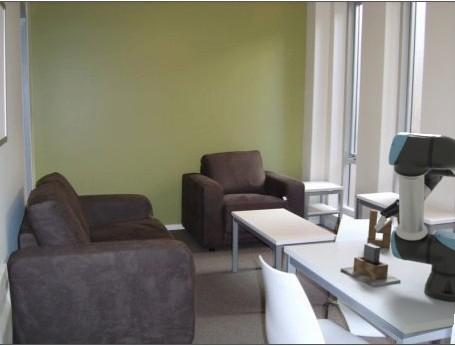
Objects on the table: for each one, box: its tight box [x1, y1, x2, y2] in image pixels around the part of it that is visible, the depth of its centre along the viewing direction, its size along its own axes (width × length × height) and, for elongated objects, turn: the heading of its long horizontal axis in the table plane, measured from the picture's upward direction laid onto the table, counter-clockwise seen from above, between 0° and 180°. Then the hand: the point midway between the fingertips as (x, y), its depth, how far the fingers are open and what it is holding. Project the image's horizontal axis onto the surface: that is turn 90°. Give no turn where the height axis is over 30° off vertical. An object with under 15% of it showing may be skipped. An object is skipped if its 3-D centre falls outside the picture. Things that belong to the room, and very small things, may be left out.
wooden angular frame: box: [366, 209, 393, 249], centre depth 257 cm, size 4×11×18 cm, turn 78°
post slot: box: [340, 255, 402, 288], centre depth 214 cm, size 20×14×6 cm
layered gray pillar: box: [363, 243, 381, 265], centre depth 214 cm, size 6×3×12 cm, turn 27°
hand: (387, 233), depth 216 cm, fingers open, 13 cm apart
